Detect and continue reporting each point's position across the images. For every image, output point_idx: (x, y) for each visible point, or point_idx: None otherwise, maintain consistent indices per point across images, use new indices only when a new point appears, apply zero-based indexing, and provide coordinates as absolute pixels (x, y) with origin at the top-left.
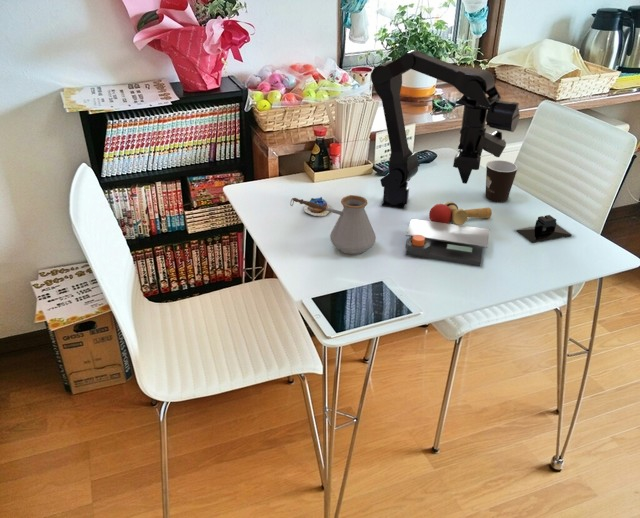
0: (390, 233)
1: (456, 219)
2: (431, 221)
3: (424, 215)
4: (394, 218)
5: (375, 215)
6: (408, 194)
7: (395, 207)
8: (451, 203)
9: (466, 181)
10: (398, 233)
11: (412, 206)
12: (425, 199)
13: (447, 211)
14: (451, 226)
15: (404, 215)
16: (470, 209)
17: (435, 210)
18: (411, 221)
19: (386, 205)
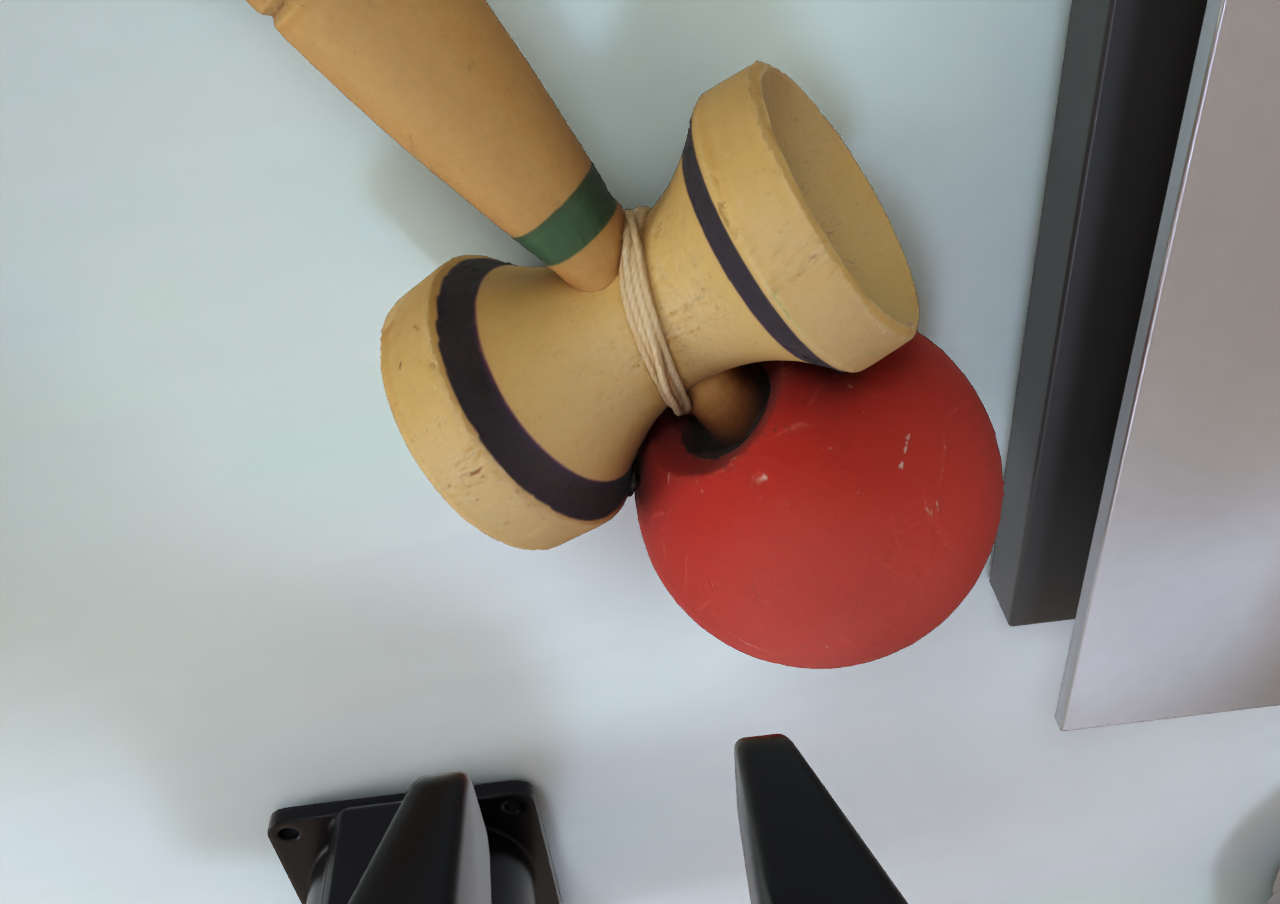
0: None
1: (834, 237)
2: (1105, 542)
3: (573, 583)
4: None
5: None
6: (352, 892)
7: (544, 837)
8: (528, 477)
9: (829, 810)
10: None
11: (400, 729)
12: (111, 676)
13: (936, 470)
14: (1251, 267)
15: (668, 731)
16: (407, 92)
17: (947, 617)
18: (1143, 715)
19: (557, 901)
